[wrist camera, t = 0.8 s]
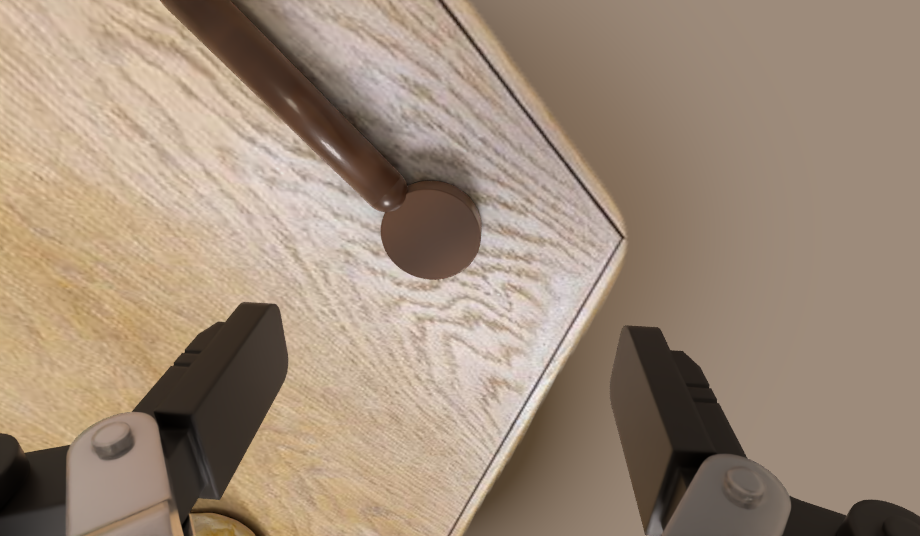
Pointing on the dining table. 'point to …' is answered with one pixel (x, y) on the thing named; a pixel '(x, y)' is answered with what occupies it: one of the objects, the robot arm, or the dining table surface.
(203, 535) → the bread roll
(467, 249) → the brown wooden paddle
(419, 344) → the dining table surface
